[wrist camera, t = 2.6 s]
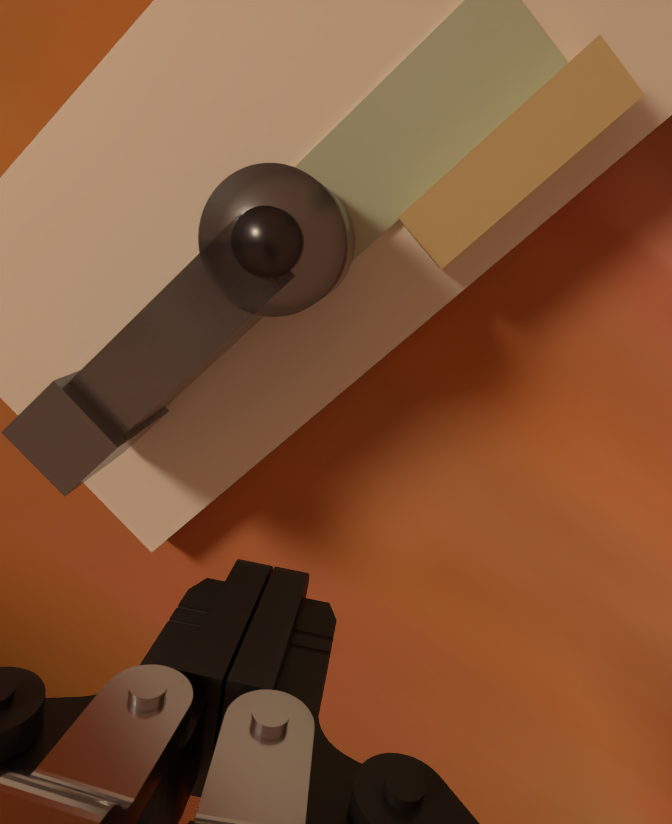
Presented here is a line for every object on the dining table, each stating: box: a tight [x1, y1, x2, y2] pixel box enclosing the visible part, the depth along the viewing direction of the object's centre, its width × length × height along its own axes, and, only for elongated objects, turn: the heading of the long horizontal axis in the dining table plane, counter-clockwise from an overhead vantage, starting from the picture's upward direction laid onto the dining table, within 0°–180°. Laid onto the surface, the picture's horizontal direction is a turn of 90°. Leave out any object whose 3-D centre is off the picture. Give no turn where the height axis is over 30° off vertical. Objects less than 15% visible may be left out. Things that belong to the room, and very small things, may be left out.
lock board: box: [0, 0, 672, 552], centre depth 20 cm, size 26×13×3 cm, turn 130°
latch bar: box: [2, 163, 355, 496], centre depth 19 cm, size 12×4×4 cm, turn 130°
